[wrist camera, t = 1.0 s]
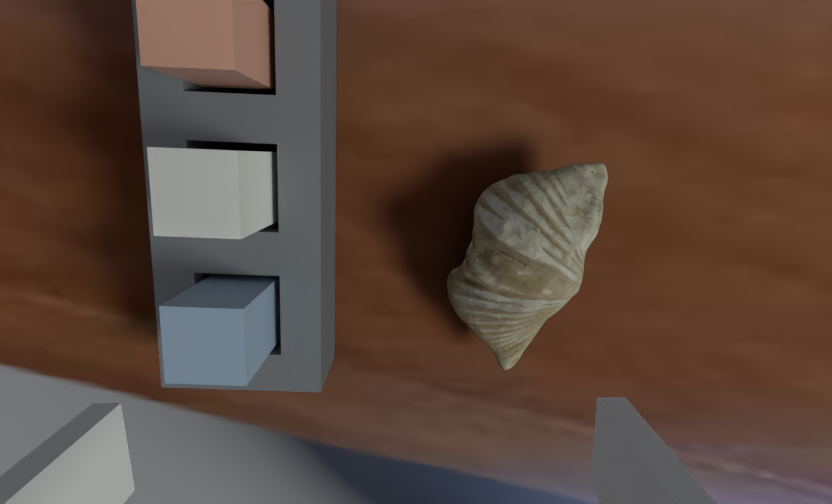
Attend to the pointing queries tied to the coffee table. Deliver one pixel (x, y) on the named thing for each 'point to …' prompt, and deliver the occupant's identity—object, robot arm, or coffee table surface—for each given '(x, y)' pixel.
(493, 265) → the seashell
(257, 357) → the blue key
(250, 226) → the white key
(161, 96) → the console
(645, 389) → the coffee table surface
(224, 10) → the salmon brown block
